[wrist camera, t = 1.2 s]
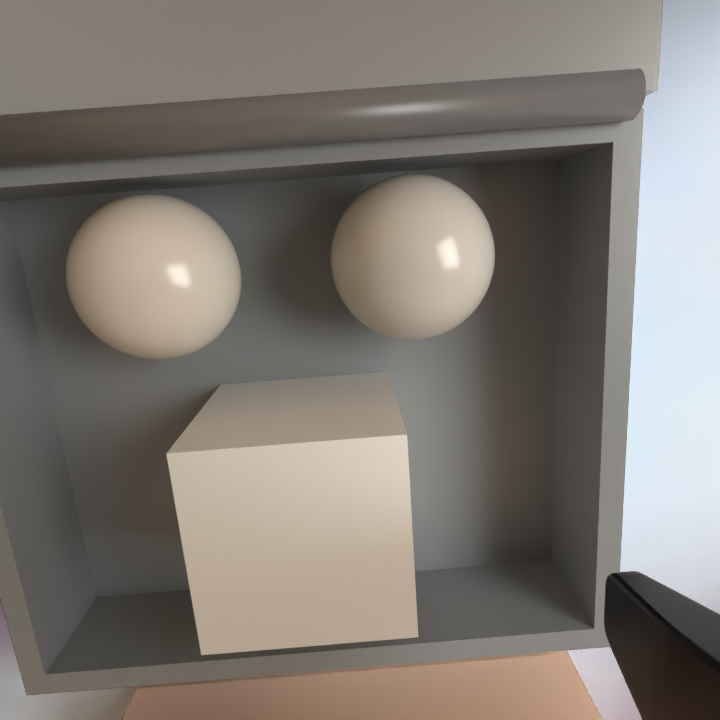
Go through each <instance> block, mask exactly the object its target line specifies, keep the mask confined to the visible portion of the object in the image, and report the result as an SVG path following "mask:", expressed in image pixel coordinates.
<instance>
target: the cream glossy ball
mask: <svg viewBox="0 0 720 720" xmlns="http://www.w3.org/2000/svg"><path fill="white" fill-rule="evenodd" d="M494 265H495V247H494V240H493V235H492V232H491V229H490V226H489V223H488V221H487V219H486V217H485V215H484V213H483V212H482V210H481V209H480V207H479V206H478V205H477V203H476V202H475V201H474V200H473V199H472V198H471V197H470V196H469V195H468V194H467V193H466V192H465V191H463V190H462V189H461V188H459V187H458V186H456V185H454V184H453V183H451V182H449V181H447V180H444V179H442V178H439V177H435V176H432V175H425V174H404V175H397V176H394V177H390V178H387V179H384V180H382V181H380V182H377V183H375V184H374V185H372V186H370V187H369V188H367V189H366V190H364V191H363V192H362V193H361V194H359V195H358V196H357V197H356V198H355V199H354V200H353V201H352V203H351V204H350V205H349V206H348V208H347V209H346V210H345V212H344V213H343V215H342V217H341V219H340V221H339V222H338V225H337V227H336V230H335V233H334V236H333V241H332V246H331V270H332V276H333V280H334V283H335V287H336V289H337V291H338V294H339V296H340V298H341V299H342V301H343V303H344V304H345V306H346V307H347V309H348V310H349V311H350V312H351V314H352V315H353V316H354V317H355V318H356V319H357V320H359V321H360V322H361V323H362V324H364V325H365V326H366V327H368V328H369V329H371V330H373V331H375V332H377V333H379V334H382V335H384V336H387V337H391V338H395V339H402V340H421V339H428V338H432V337H435V336H439V335H441V334H443V333H446V332H448V331H450V330H452V329H453V328H455V327H457V326H458V325H459V324H461V323H462V322H463V321H465V320H466V319H467V318H468V317H469V316H470V315H471V314H472V313H473V312H474V311H475V309H476V308H477V307H478V306H479V304H480V303H481V301H482V300H483V298H484V296H485V294H486V292H487V290H488V288H489V285H490V282H491V279H492V276H493V270H494Z"/></svg>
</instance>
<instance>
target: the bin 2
mask: <svg viewBox="0 0 720 720" xmlns="http://www.w3.org/2000/svg"><path fill="white" fill-rule="evenodd" d="M122 720H603V719H602V717H601V716H600V714H599V712H598V710H597V708H596V706H595V704H594V702H593V700H592V698H591V697H590V695H589V693H588V691H587V689H586V687H585V685H584V683H583V681H582V679H581V677H580V676H579V674H578V672H577V670H576V668H575V666H574V664H573V662H572V660H571V658H570V657H569V655H568V653H567V651H566V650H564V651H552V652H540V653H528V654H516V655H504V656H492V657H480V658H468V659H456V660H444V661H432V662H420V663H408V664H396V665H384V666H372V667H360V668H348V669H336V670H324V671H312V672H300V673H288V674H276V675H264V676H252V677H240V678H228V679H217V680H205V681H193V682H181V683H169V684H157V685H145V686H137V688H136V690H135V692H134V694H133V696H132V699H131V701H130V703H129V705H128V707H127V710H126V712H125V714H124V716H123V718H122Z"/></svg>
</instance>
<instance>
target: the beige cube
mask: <svg viewBox="0 0 720 720" xmlns="http://www.w3.org/2000/svg"><path fill="white" fill-rule="evenodd" d="M166 455H167V460H168V466H169V472H170V478H171V483H172V489H173V495H174V501H175V507H176V512H177V518H178V524H179V530H180V535H181V541H182V547H183V553H184V558H185V564H186V570H187V576H188V581H189V587H190V593H191V599H192V605H193V610H194V616H195V622H196V628H197V633H198V639H199V645H200V651H201V655H210V654H223V653H235V652H247V651H259V650H271V649H283V648H295V647H307V646H319V645H331V644H343V643H355V642H367V641H379V640H391V639H403V638H415V637H418V621H417V603H416V585H415V567H414V549H413V531H412V512H411V494H410V476H409V458H408V440H407V432H406V429H405V426H404V422H403V419H402V416H401V412H400V409H399V406H398V403H397V399H396V396H395V393H394V389H393V386H392V383H391V379H390V376H389V373H388V372H376V373H364V374H351V375H338V376H325V377H312V378H299V379H287V380H274V381H261V382H248V383H235V384H222V385H220V386H219V387H218V389H217V390H216V391H215V392H214V394H213V395H212V396H211V398H210V399H209V400H208V401H207V403H206V404H205V405H204V406H203V408H202V409H201V410H200V411H199V413H198V414H197V415H196V417H195V418H194V419H193V420H192V422H191V423H190V424H189V425H188V427H187V428H186V429H185V430H184V432H183V433H182V434H181V436H180V437H179V438H178V439H177V441H176V442H175V443H174V444H173V446H172V447H171V448H170V450H169V451H168V452H167V453H166Z"/></svg>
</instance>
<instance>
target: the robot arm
mask: <svg viewBox="0 0 720 720" xmlns="http://www.w3.org/2000/svg"><path fill="white" fill-rule="evenodd" d="M604 628H605V633H606V636H607V640H608V642H609V644H610V647H611V649H612V651H613V654H614V656H615V658H616V660H617V663H618V665H619V667H620V670H621V672H622V674H623V676H624V679H625V681H626V683H627V685H628V688H629V690H630V692H631V695H632V697H633V699H634V701H635V704H636V706H637V708H638V711H639V713H640V715H641V717H642V720H720V614H718V613H716V612H714V611H712V610H710V609H709V608H707V607H705V606H703V605H701V604H699V603H697V602H695V601H693V600H691V599H689V598H688V597H686V596H684V595H682V594H680V593H678V592H676V591H674V590H672V589H670V588H669V587H667V586H665V585H663V584H661V583H659V582H657V581H655V580H653V579H651V578H649V577H648V576H646V575H644V574H642V573H639V572H636V571H631V572H619V573H611V574H610V575H609V576H608V577H607V579H606V584H605V606H604Z"/></svg>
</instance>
